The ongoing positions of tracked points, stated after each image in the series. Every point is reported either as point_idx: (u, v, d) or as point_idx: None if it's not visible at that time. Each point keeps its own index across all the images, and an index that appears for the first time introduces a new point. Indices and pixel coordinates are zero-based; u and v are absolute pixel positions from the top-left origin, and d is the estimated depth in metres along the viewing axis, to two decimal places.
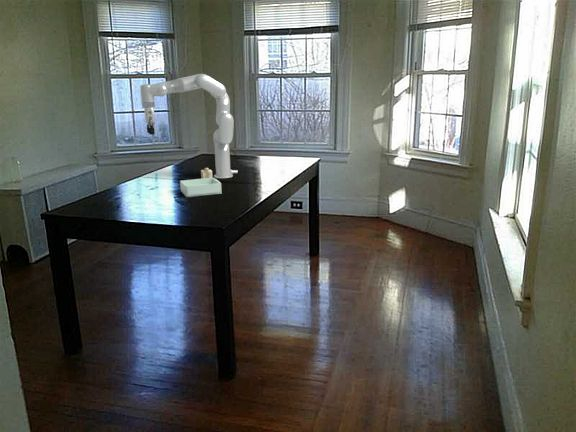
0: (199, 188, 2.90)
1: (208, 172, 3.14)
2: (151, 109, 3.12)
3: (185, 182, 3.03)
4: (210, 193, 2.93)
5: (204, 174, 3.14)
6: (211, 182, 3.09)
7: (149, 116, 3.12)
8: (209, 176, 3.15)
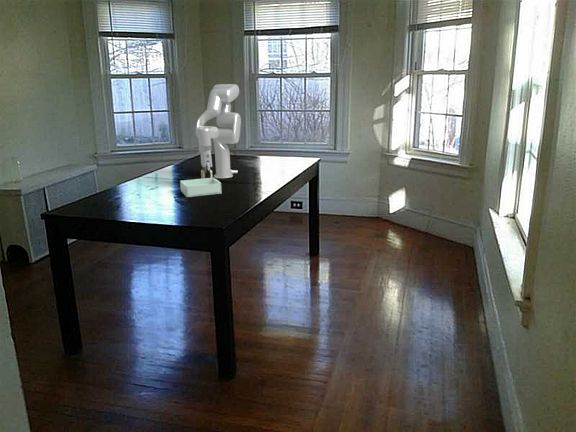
0: (199, 188, 2.90)
1: None
2: (208, 153, 3.10)
3: (185, 182, 3.03)
4: (210, 193, 2.93)
5: (204, 174, 3.14)
6: (211, 182, 3.09)
7: (206, 161, 3.10)
8: None
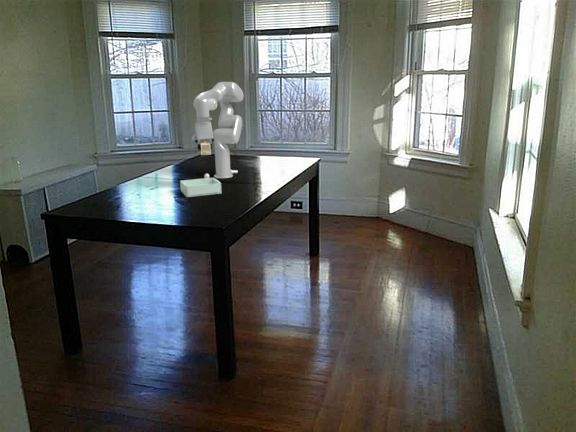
0: (199, 188, 2.90)
1: None
2: None
3: (185, 182, 3.03)
4: (210, 193, 2.93)
5: None
6: (211, 182, 3.09)
7: None
8: None
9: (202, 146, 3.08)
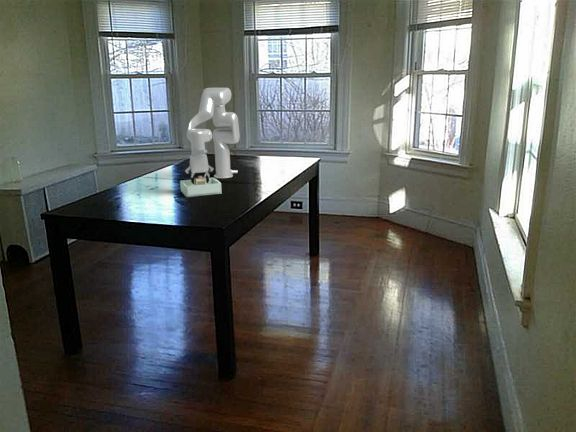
0: (199, 188, 2.90)
1: None
2: None
3: (185, 182, 3.03)
4: (210, 193, 2.93)
5: None
6: (211, 182, 3.09)
7: None
8: None
9: (197, 182, 2.95)
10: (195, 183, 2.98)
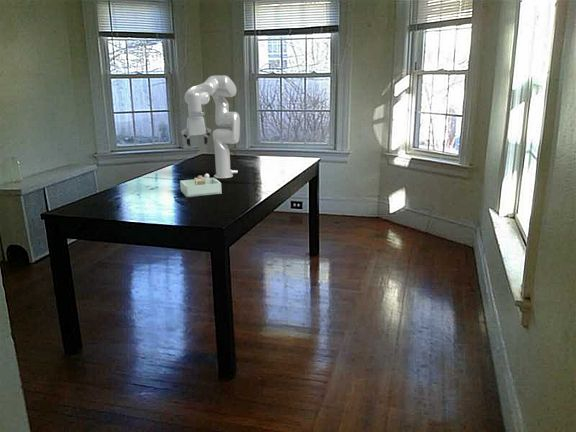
0: (199, 188, 2.90)
1: None
2: None
3: (185, 182, 3.03)
4: (210, 193, 2.93)
5: None
6: (211, 182, 3.09)
7: None
8: None
9: (197, 182, 2.95)
10: (195, 183, 2.98)
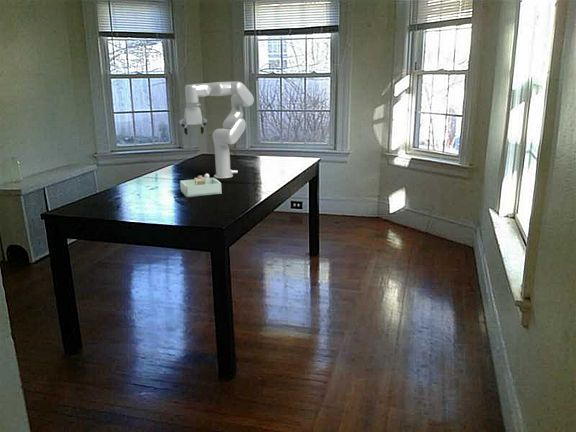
0: (199, 188, 2.90)
1: None
2: None
3: (185, 182, 3.03)
4: (210, 193, 2.93)
5: None
6: (211, 182, 3.09)
7: None
8: None
9: (197, 182, 2.95)
10: (195, 183, 2.98)
